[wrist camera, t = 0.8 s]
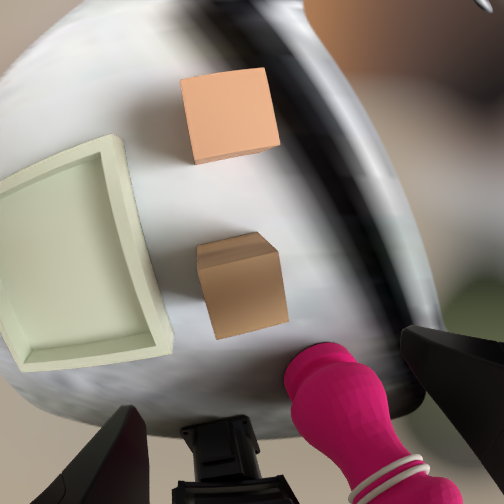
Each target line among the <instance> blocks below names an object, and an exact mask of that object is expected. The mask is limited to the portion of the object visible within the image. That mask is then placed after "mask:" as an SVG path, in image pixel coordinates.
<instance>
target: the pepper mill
mask: <svg viewBox="0 0 504 504" xmlns="http://www.w3.org/2000/svg"><path fill="white" fill-rule="evenodd" d="M284 386H285V389H286V391H287V393H288V396H289V398H290V400H291V401H292V406H291V417H292V421H293V423H294V425H295V426H296V428H297V430H298V432H299V433H300V435H301V436H302V437H303V438H304V439H305V440H306V441H307V442H308V443H309V444H310V445H312V446H313V447H315V448H316V449H318V450H319V451H320V452H322V453H323V454H325V455H326V456H327V457H328V458H330V459H331V460H332V461H333V462H334V463H335V464H336V465H337V466H338V467H339V468H340V469H341V471H342V473H343V474H344V476H345V477H346V479H347V481H348V483H349V486H350V488H351V491H352V492H351V493H350V495H349V497H348V501H349V503H351V504H463V499H462V496H461V493H460V491H459V489H458V487H457V486H456V485H455V484H454V483H453V482H452V481H451V480H449V479H447V478H443V477H432V476H428V475H427V474H428V473H429V470H430V466H429V465H427V464H424V462H423V458H422V456H421V455H419V454H413V455H411V454H410V453H409V452H408V451H407V449H406V448H405V447H404V446H403V445H402V443H401V442H400V440H399V438H398V437H397V435H396V434H395V431H394V429H393V426H392V424H391V420H390V415H389V409H388V402H387V396H386V393H385V390H384V388H383V385H382V382H381V381H380V380H379V378H378V377H377V375H376V374H375V372H374V371H373V370H372V369H370V368H369V367H368V366H366V365H363V364H360V363H357V362H356V360H355V359H354V358H353V356H352V355H351V354H350V353H349V352H348V350H347V349H346V348H345V347H343V346H341V345H339V344H336V343H321V344H317V345H314V346H311V347H309V348H307V349H305V350H304V351H302V352H301V353H299V354H298V355H297V356H296V357H295V358H294V359H293V360H292V361H291V363H290V364H289V366H288V367H287V369H286V371H285V374H284Z"/></svg>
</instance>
